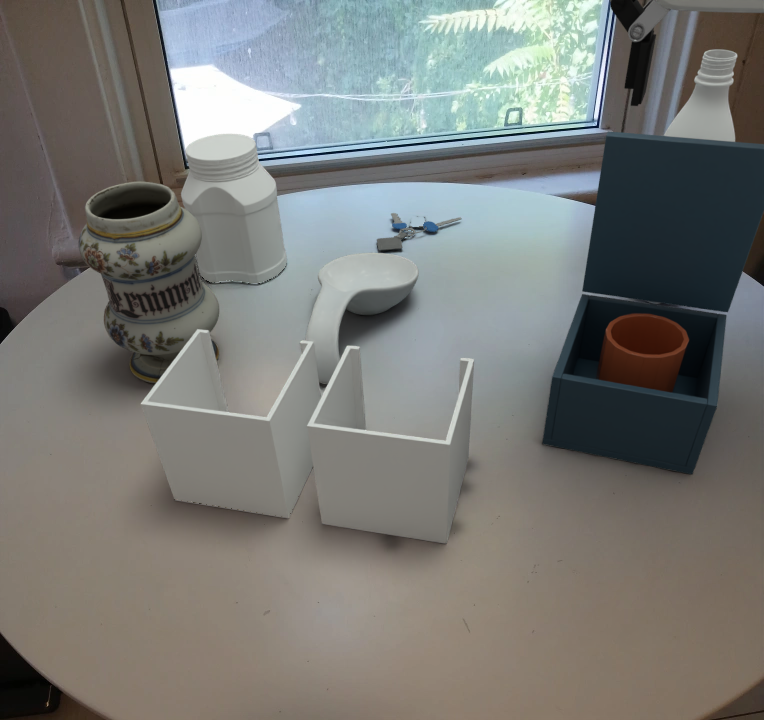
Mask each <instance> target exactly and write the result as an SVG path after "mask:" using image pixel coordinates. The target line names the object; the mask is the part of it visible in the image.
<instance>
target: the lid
mask: <svg viewBox="0 0 764 720" xmlns="http://www.w3.org/2000/svg"><path fill="white" fill-rule="evenodd" d="M604 141H605V142H604V146H603V147H604V148H603V154H602V159H601V167H600V172H599V173H600V174H599V180H598V187H597V193H596V199H595V205H594V214H593V219H592V226H591V232H590V238H589V245H588V251H587V258H586V262H585V263H586V265H585V269H584V270H585V272H584V276H583V283H582V293H589V294H594V295H595V294H596V295H602V296H610V297H617V298H624V299H629V300H630V299H631V300H639V301H644V302H647V301H651V302H658V303H660V304H666V305H672V306H679V307H685V308H686V307H687V308H693V309H700V310H708V311H715V312H721V313H729V311H730V308H731V305H732V302H733V300H734V297H735V294H736V291H737V288H738V286H739V283H740V280H741V277H742V274H743V271H744V268H745V266H746V262H747V260H748V257H749V255H750V252H751V249H752V246H753V244H754V240H755V237H756V235H757V232H758V229H759V226H760V224H761V221H762V218H763V215H764V143H752V142H742V141H735V142H730V141H718V140H706V139H694V138H682V137H670V136H664V135H656V134H645V133H633V132H618V131H611V130H610V131H607V133H606V136H605V140H604Z"/></svg>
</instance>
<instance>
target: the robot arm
mask: <svg viewBox="0 0 764 720" xmlns="http://www.w3.org/2000/svg"><path fill="white" fill-rule="evenodd" d="M609 2H610V4H609V5H610V9H611V11H612V13H613V14H614V15H615V17H616V18H617V20H618V21H619V23H620V24H621V25H622V27H623V28H624V29H625V31H626V32H627V37H628V39H629V40H630V41H631V44H630V49H629V56H628V57H629V58H628V62H627V68H626V74H625V80H624V87H623V88H624V89H625V90H632V94H631V100H630V107H639V105H642V103H643V100H644V98H645V96H646V92H647V88H648V81H649V77H650V71H651V67H652V60H653V55H654V50H655V45H656V40H657V34H655V28H656V26H657V25H658V24H659V23H660V22H661V21H662V20H663V19H664V18H665V17H666V16H667V14H669V12H670V11H681V12H707V13H712V12H713V13H742V14H743V13H746V14H747V13H748V14H764V0H649V1H647V3H646V4H645V5H644V6H642V4H641V2H640V1H639V0H609Z"/></svg>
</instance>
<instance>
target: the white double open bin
mask: <svg viewBox="0 0 764 720" xmlns="http://www.w3.org/2000/svg"><path fill="white" fill-rule="evenodd" d="M211 339H212V336H211V332H210V333H209V330H200V329H197V330H196V332H195V333H194V334H193V336H192V337H191V338H190V340H189V341H188V342H187V344H186V345H185V346H184V347H183V349H182V350H181V351H180V353H179V354H178V355H177V357H176V358H175V359H174V361H173V362H172V363H171V365H170V366H169V367H168V368H167V370H166V371H165V372H164V374H163V375H162V376H161V378H160V379H159V380H158V382H157V383H156V384H154V385H153V387H152V388H151V389H150V390H149V392H148V393H147V395H146V396H145V397H144V398H143V400H142V401H141V402H140V407H141V409H142V412H143V414H144V415H143V416H144V418H145V420H146V422H147V426H148V428H149V432H150V435H151V438H152V440H153V443H154V446H155V449H156V452H157V455H158V457H159V460H160V463H161V466H162V469H163V472H164V475H165V478H166V480H167V483H168V486H169V488H170V491H171V494H172V497H173V499H178V500H175V501H176V502H182V503H189V504H195V505H201V506H208V507H215V508H220V509H226V510H232V511H237V512H238V511H239V512H246V513H251V514H259V515H264V516H271V517H277V518H283V519H290V517H291V515H292V513H293V511H294V510H295V509H294V508H295V507H296V505H297V503H298V500H299V498H300V496H301V494H302V492H303V489H304V487H305V485H306V483H307V480H308V478H309V476H310V474H311V471H312V469H313V474H314V481H315V486H316V493H317V500H318V501H317V502H318V507H319V512H320V513H319V515H320V520H321V525H327V526H333V527H337V528H338V527H339V528H343V529H344V528H345V529H352V530H358V531H364V532H370V533H377V534H383V535H389V536H396V537H402V538H407V539H413V540H414V539H415V540H420V541H426V542H433V543H439V544H444V545H445V544H446V545H447V544H448V540H449V536H450V533H451V529H452V526H453V525H452V524H453V521H454V516H455V512H456V510H457V509H456V508H457V505H458V501H459V498H460V493H461V489H462V486H463V481H464V478H465V474H466V470H467V467H468V461H469V458H470V457H469V456H470V443H471V421H472V407H473V406H472V405H473V390H474V389H473V387H474V369H475V358H468V357H460V358H459V359H460V360H459V375H458V396H457V399H456V404H455V407H454V411H453V414H452V418H451V420H450V424H449V428H448V431H447V433H446V434H447V435H446V438H445V440H444V439H437V438H429V437H421V436H413V435H405V434H398V433H390V432H382V431H376V430H367V423H366V410H365V395H364V384H363V382H364V381H363V370H362V358H361V346H359V345H357V346H356V345H348V344H347V345H346V347H345V349H344V351H343V353H342V355H341V356H340V361H339V363H338V365H337V367H336V369H335V371H334V373H333V375H332V377H331V379H330V381H329V383H328V384H326V387H325V388H324V391H323V393H322V395H321V389H320V383H319V380H318V372H317V364H316V356H315V349H314V342H312V341H305V340H302V339H301V341H299V346H300V352H301V355H300V356H299V359H298V360H297V362H296V364H295V365H294V368H293V369H292V371H291V373H290V375H289V376H288V378H287V380H286V381H285V384H284V386H283V387H282V388H281V391H280V392H279V393H278V395H277V398H276V400H275V401H274V403H273V404H272V407H271V408H270V410H269V413H268V414H267V415H266V416H260V415H253V414H247V413H246V414H245V413H238V412H230V411H229V405H228V402H227V398H226V393H225V391H224V386H223V382H222V378H221V373H220V370H219V366H218V362H217V361H218V360H217V361H216V357H215V353H214V349H213V345H212V341H211ZM298 496H299V497H298ZM181 500H183V501H181ZM187 501H188V502H187ZM189 501H190V502H189ZM191 501H192V502H191ZM193 502H197V503H193ZM199 503H202V504H199ZM206 504H207V505H206ZM212 505H214V506H212ZM215 505H216V506H215ZM218 506H221V507H218ZM225 507H227V508H225ZM231 508H232V509H231ZM237 509H240V510H237ZM292 509H293V510H292ZM243 510H246V511H243ZM250 511H252V512H250ZM256 512H258V513H256ZM262 513H264V514H262ZM290 513H291V514H290ZM269 514H270V515H269ZM275 515H276V516H275ZM281 516H283V517H281ZM288 517H289V518H288Z"/></svg>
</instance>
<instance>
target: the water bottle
mask: <svg viewBox="0 0 764 720" xmlns="http://www.w3.org/2000/svg"><path fill="white" fill-rule="evenodd" d="M701 58H702V60H701V64H700V68H699V69H698V71H697V75H695V77H694V80H693V81H694V82H693V83H695V85H694V89H693V90H692V93H691V95H690V96H689V99H688V100H687V101H686V103H685V104H684V106H682V108H681V109H680V111H679V112H678V113H677V114H676V116H675V117H674V118H673V119H672V122H671V123H670V124H669V126H668V127H667V129H666V130H665V132H664V134H663V136H670V137H682V138H694V139H706V140H718V141H730V142H736V132H735V127H734V126H735V125H734V121H733V117H732V113H731V109H730V103H729V93H730V86H732V85H733V84H734V78H733V76H734V74H735V73H734V68H735V66H736V62H737V58H738V53H737V52H734V51H732V50H728V49H709V50H706V51H704V53H703V56H702V57H701ZM646 303H649V304H656V305H661V303H658V302H651V301H646Z"/></svg>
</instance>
